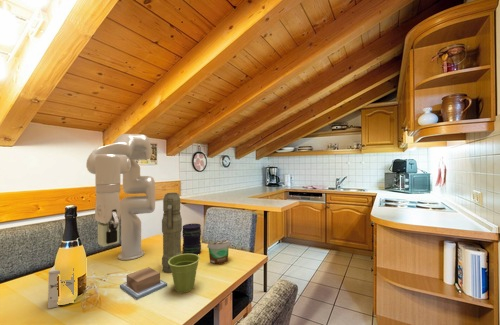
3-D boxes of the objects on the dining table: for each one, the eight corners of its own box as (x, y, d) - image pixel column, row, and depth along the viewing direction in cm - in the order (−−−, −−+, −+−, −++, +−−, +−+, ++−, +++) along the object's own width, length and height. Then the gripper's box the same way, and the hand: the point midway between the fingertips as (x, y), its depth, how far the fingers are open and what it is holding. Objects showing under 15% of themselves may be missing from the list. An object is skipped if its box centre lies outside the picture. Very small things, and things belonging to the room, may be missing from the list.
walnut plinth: (126, 285, 90) (126, 275, 90) (148, 276, 97) (148, 267, 97) (137, 292, 84) (137, 281, 85) (160, 283, 92) (160, 272, 92)
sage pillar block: (97, 243, 80) (97, 223, 80) (113, 240, 84) (113, 220, 84) (103, 246, 77) (103, 226, 77) (119, 242, 81) (119, 222, 81)
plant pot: (164, 287, 90) (164, 258, 91) (193, 278, 97) (192, 251, 98) (174, 300, 81) (173, 268, 81) (205, 289, 88) (204, 260, 88)
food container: (214, 268, 107) (214, 246, 107) (207, 264, 111) (207, 243, 112) (235, 260, 115) (235, 240, 115) (228, 257, 120) (227, 237, 120)
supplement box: (47, 309, 77) (47, 271, 77) (55, 298, 84) (55, 263, 84) (74, 304, 80) (74, 267, 80) (80, 293, 87) (80, 259, 87)
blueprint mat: (119, 287, 90) (119, 284, 90) (149, 275, 100) (149, 273, 100) (136, 299, 82) (136, 296, 82) (167, 285, 91) (167, 283, 91)
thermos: (160, 276, 100) (160, 195, 100) (163, 265, 111) (162, 192, 112) (182, 273, 102) (181, 194, 103) (182, 262, 113) (181, 191, 114)
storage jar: (178, 254, 125) (178, 226, 125) (192, 248, 133) (192, 222, 133) (191, 257, 119) (190, 229, 120) (204, 252, 127) (204, 224, 128)
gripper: (87, 188, 83) (87, 239, 83) (105, 191, 73) (106, 249, 72) (110, 186, 89) (110, 233, 89) (130, 189, 78) (130, 243, 78)
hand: (108, 240), depth 81 cm, fingers closed on sage pillar block, 5 cm apart
